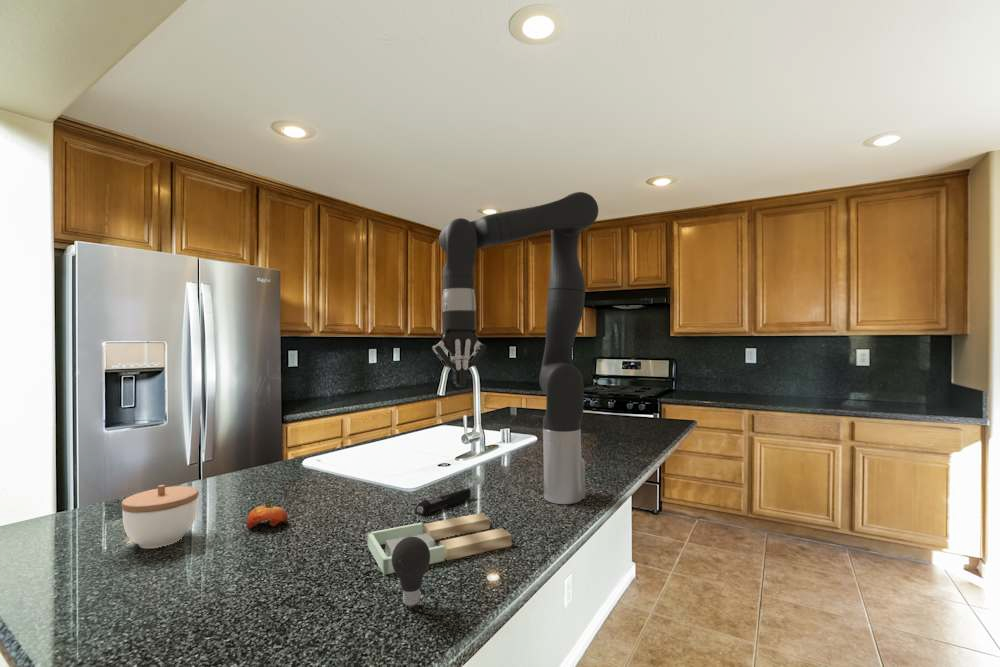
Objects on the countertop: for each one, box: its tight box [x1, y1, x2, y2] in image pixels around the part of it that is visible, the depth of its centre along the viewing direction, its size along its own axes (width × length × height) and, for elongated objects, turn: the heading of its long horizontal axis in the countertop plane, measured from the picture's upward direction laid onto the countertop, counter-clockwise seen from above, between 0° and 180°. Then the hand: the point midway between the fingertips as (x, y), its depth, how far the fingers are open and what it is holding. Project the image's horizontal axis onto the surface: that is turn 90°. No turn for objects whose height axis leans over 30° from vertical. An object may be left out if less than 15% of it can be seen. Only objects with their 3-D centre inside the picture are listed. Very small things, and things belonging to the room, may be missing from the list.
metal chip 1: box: [384, 537, 407, 557], centre depth 89 cm, size 4×4×2 cm
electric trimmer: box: [414, 487, 472, 517], centre depth 115 cm, size 4×16×3 cm, turn 136°
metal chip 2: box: [411, 533, 436, 548], centre depth 90 cm, size 4×4×2 cm
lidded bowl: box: [121, 484, 200, 550], centre depth 97 cm, size 13×13×11 cm
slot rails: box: [422, 512, 513, 561], centre depth 95 cm, size 13×14×2 cm
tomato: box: [246, 500, 289, 532], centre depth 104 cm, size 8×7×7 cm
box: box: [366, 522, 446, 576], centre depth 90 cm, size 11×13×2 cm
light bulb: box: [392, 537, 430, 608], centre depth 72 cm, size 6×6×10 cm
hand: (460, 386), depth 109 cm, fingers closed
